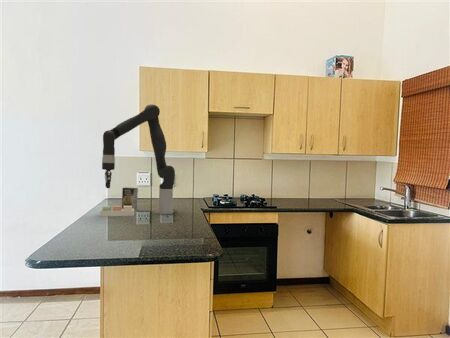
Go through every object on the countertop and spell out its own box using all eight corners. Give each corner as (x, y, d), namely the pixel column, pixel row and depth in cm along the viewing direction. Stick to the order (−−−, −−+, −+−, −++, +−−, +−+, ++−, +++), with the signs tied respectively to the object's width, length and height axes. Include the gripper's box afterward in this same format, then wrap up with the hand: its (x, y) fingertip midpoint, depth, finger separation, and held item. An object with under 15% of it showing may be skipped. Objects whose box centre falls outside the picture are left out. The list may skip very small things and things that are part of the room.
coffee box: (121, 210, 225) (121, 187, 225) (126, 209, 232) (126, 187, 231) (132, 211, 223) (133, 188, 223) (137, 209, 229) (138, 187, 229)
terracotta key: (121, 210, 210) (121, 205, 210) (121, 211, 205) (121, 207, 205) (113, 210, 209) (113, 205, 209) (112, 211, 204) (113, 207, 204)
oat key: (131, 210, 212) (131, 205, 212) (131, 211, 208) (131, 206, 207) (123, 210, 211) (123, 205, 211) (123, 211, 206) (123, 207, 206)
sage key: (110, 210, 208) (111, 205, 208) (110, 211, 203) (110, 207, 203) (102, 210, 207) (102, 206, 206) (102, 212, 202) (102, 207, 202)
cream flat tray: (133, 213, 214) (133, 208, 214) (134, 215, 207) (134, 210, 207) (100, 214, 208) (100, 209, 207) (99, 216, 200) (99, 211, 200)
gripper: (115, 162, 196) (114, 188, 196) (113, 162, 209) (112, 186, 209) (102, 162, 193) (102, 188, 193) (101, 161, 206) (100, 186, 206)
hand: (107, 187), depth 201 cm, fingers open, 8 cm apart
